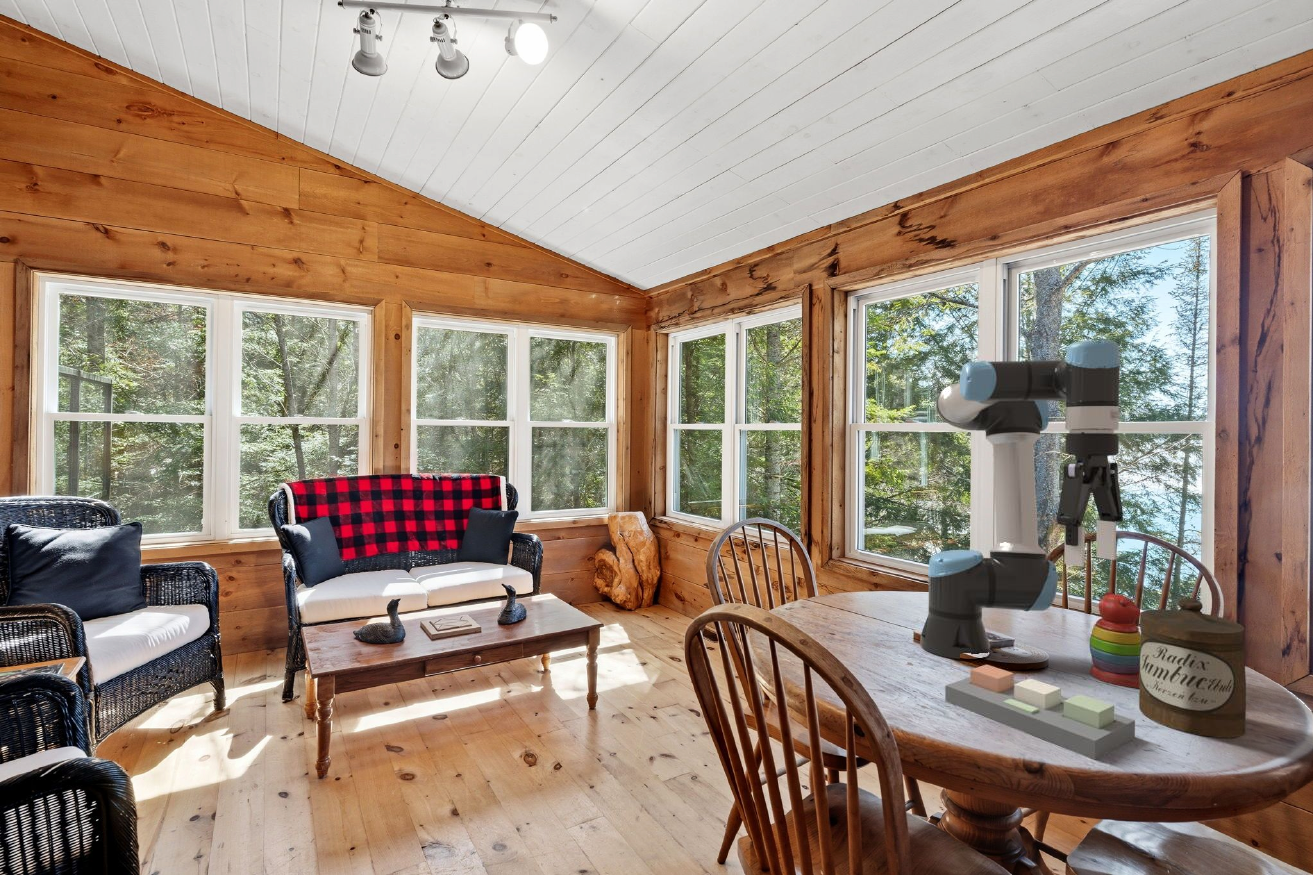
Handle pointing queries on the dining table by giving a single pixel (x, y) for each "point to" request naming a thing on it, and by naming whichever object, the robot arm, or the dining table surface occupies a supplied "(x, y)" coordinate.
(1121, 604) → the stacking bear
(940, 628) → the robot arm
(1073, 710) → the sage green key
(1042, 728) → the console
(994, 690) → the terracotta key
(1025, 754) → the dining table surface
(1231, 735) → the wooden container
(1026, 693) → the off-white key
